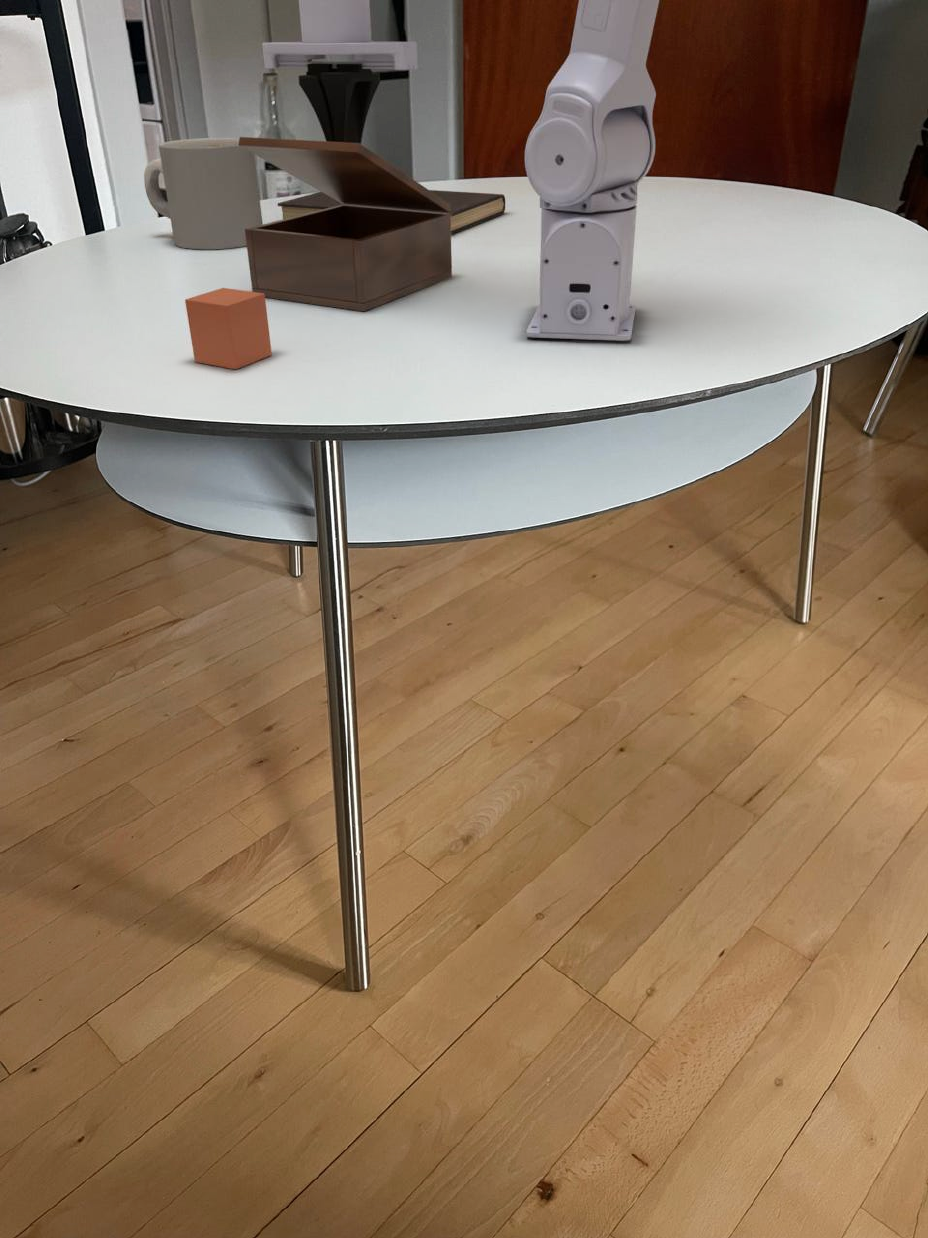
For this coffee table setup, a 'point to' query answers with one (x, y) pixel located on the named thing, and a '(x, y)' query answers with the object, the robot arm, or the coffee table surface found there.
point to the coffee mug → (206, 191)
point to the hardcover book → (463, 210)
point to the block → (229, 327)
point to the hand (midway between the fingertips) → (345, 163)
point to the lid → (346, 173)
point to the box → (350, 255)
